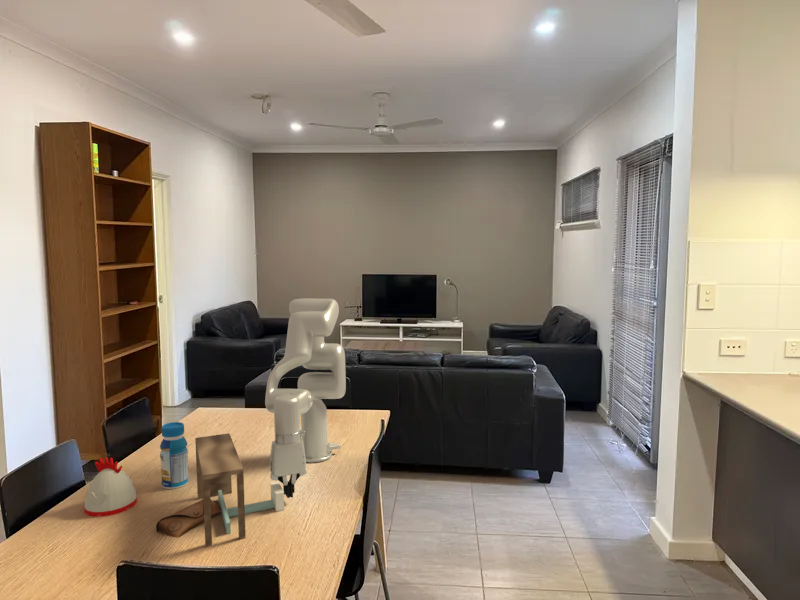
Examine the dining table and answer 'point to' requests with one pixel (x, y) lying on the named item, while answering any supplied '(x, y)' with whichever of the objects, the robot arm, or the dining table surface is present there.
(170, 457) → the beverage bottle
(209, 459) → the tunnel
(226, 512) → the mint t-bar
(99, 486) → the kitchen timer
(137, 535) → the dining table surface
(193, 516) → the sunglasses case
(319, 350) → the robot arm
